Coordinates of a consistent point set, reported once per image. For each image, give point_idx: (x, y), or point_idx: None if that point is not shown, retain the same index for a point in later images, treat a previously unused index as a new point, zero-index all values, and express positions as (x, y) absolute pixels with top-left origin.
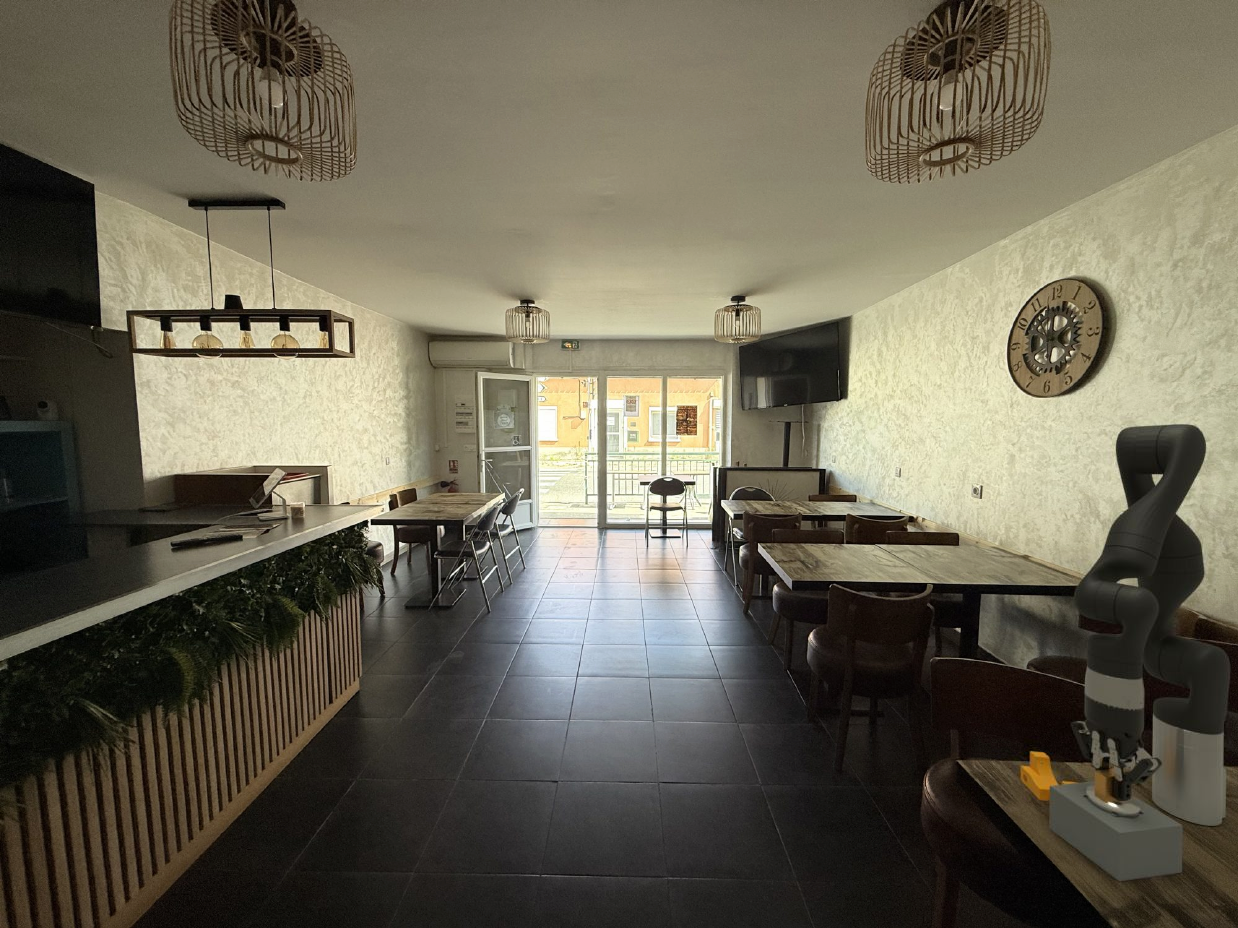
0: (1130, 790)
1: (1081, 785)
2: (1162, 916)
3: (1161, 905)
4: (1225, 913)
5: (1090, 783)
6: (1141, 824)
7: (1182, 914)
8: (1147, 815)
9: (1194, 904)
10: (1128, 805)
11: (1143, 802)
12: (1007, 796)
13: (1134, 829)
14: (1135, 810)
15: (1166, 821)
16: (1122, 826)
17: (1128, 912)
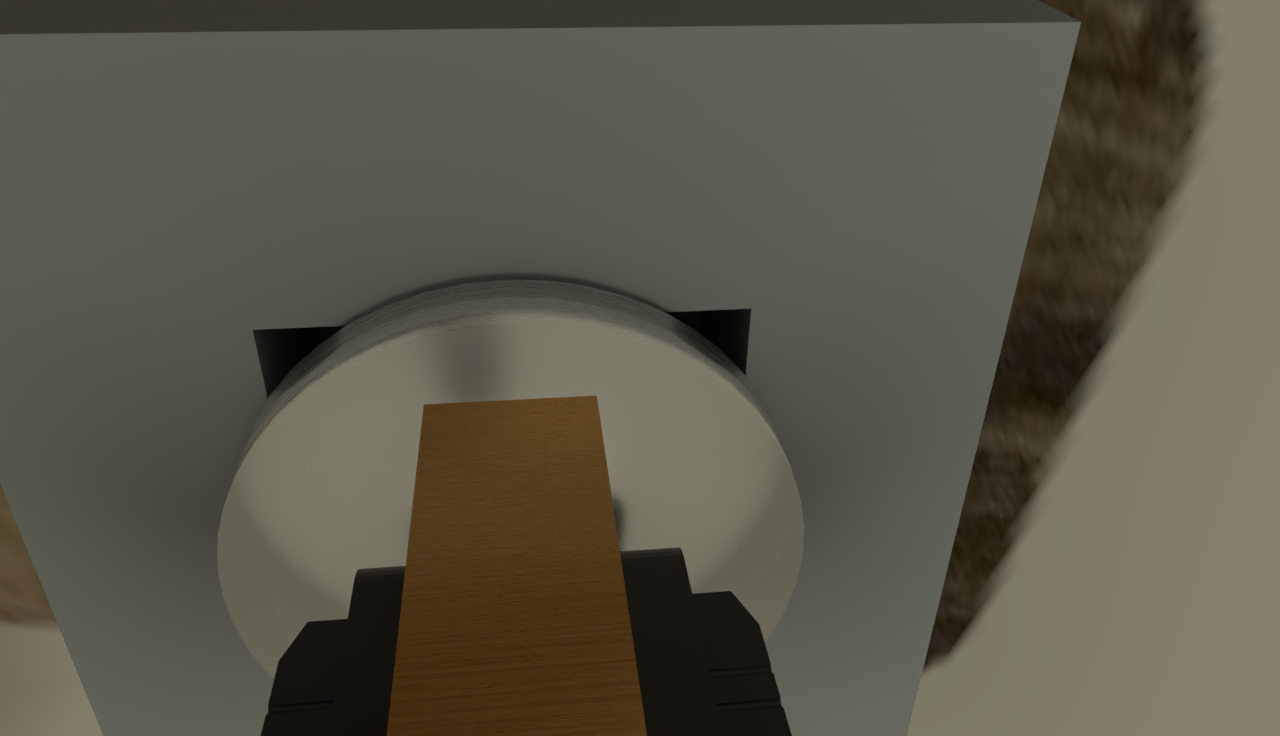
0: (784, 727)
1: (87, 537)
2: (1039, 466)
3: (992, 400)
4: (1203, 55)
5: (11, 393)
6: (880, 506)
7: (1079, 348)
8: (782, 291)
9: (1071, 189)
10: (700, 526)
11: (525, 36)
12: None
13: (908, 625)
14: (797, 527)
15: (945, 169)
16: (842, 684)
17: (955, 596)
